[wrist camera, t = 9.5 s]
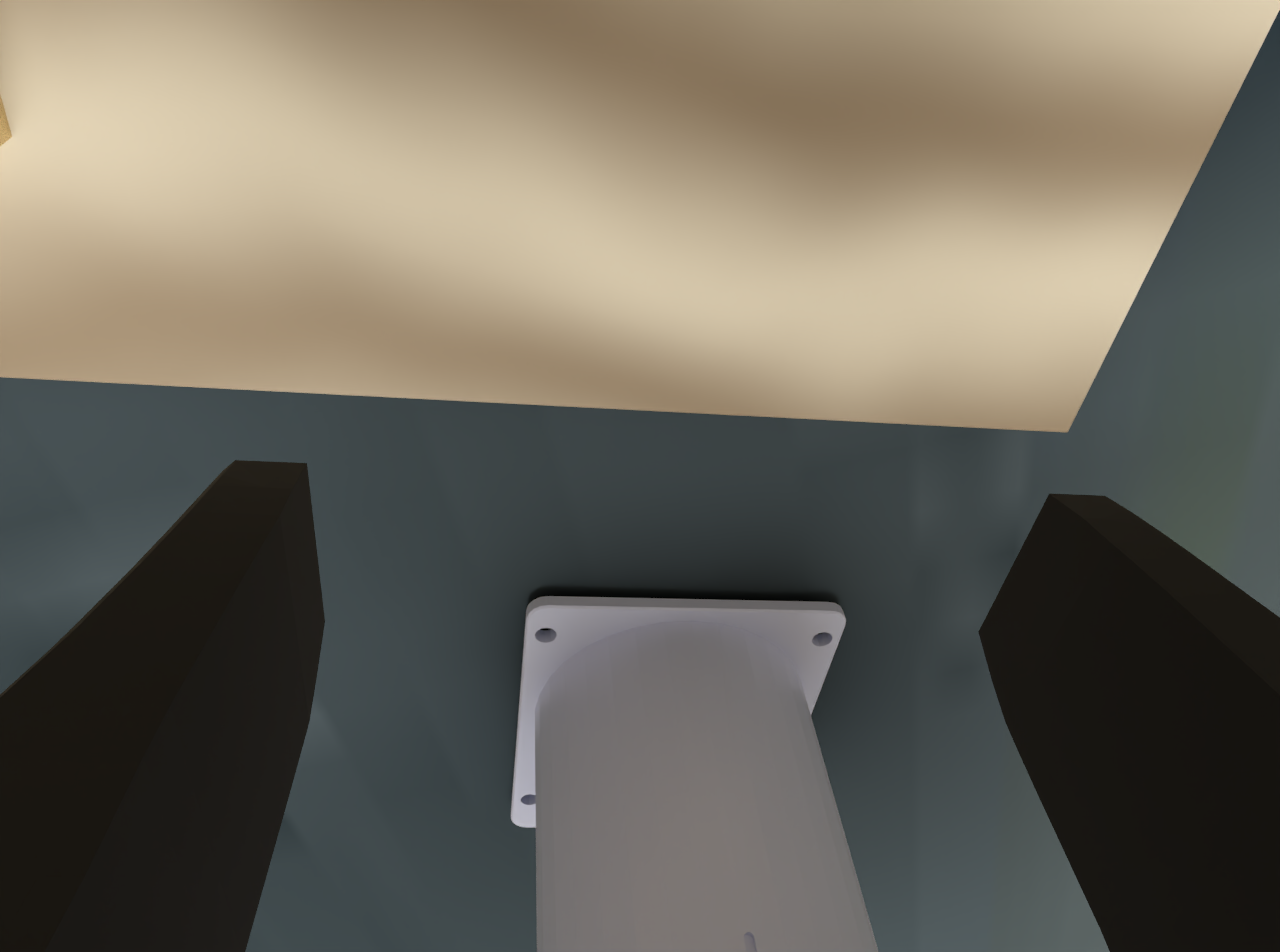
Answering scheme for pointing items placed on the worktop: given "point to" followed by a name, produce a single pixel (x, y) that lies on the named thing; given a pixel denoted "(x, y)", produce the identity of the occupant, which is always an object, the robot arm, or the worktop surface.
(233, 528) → the robot arm
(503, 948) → the worktop surface
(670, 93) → the keeper board
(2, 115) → the brass link
